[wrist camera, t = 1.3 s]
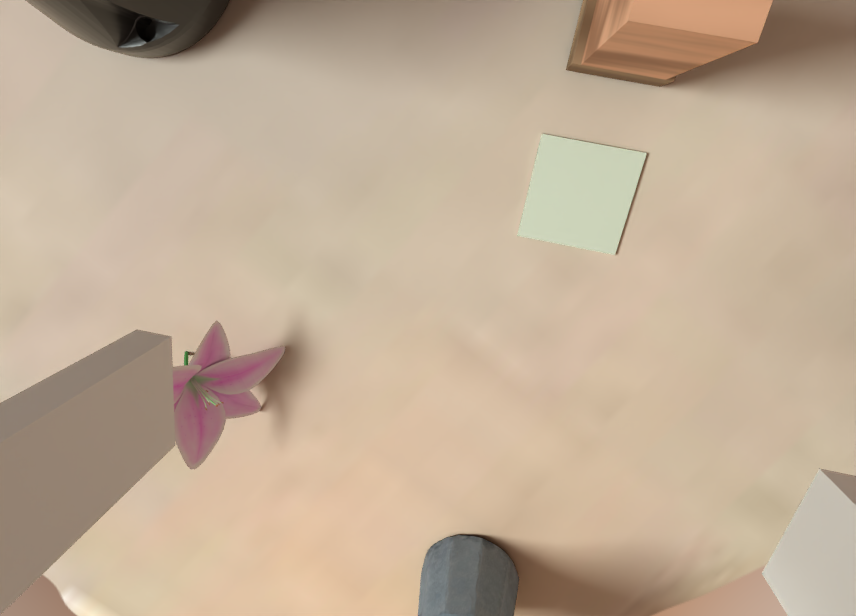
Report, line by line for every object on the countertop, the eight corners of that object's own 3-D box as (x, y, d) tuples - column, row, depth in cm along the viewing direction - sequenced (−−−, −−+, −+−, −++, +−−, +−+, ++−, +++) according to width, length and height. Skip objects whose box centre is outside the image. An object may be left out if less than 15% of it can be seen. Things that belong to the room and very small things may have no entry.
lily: (215, 437, 45) (216, 511, 36) (89, 374, 38) (56, 446, 30) (301, 342, 45) (322, 395, 36) (189, 264, 38) (183, 306, 30)
